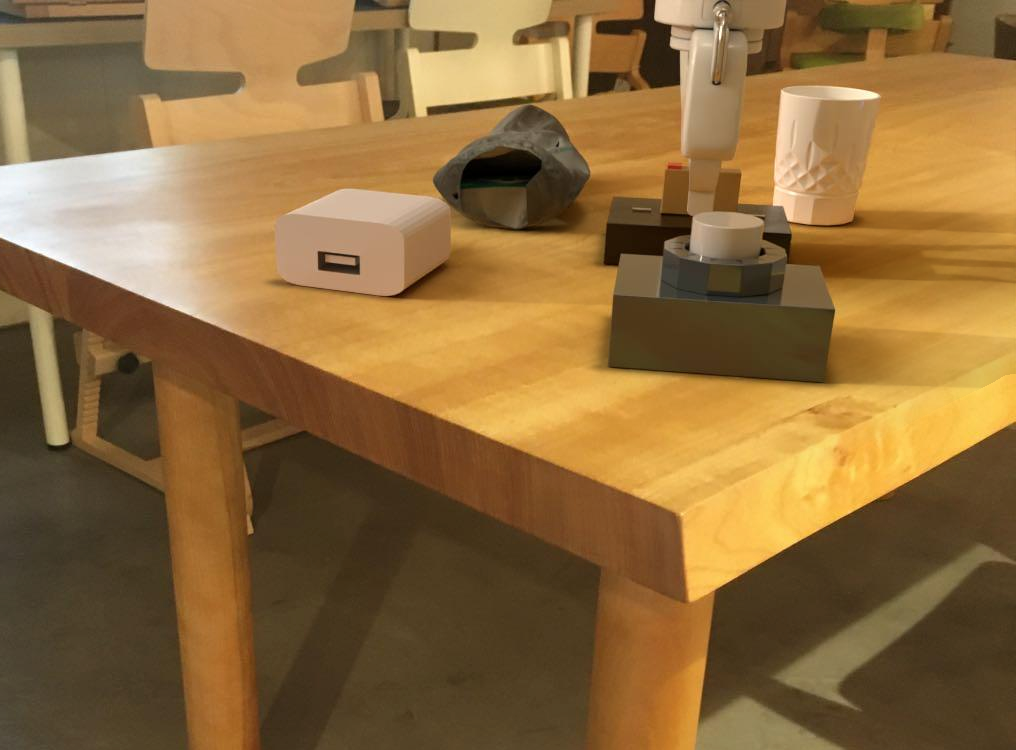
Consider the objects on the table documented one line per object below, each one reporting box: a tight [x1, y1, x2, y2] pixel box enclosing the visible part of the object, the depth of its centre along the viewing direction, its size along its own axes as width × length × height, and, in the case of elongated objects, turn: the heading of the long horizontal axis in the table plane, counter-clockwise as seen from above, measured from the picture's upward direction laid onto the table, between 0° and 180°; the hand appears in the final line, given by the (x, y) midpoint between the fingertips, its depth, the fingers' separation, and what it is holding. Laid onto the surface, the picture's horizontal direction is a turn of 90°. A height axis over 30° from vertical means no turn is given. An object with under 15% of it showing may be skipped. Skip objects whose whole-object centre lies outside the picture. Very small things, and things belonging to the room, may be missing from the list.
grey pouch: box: [432, 104, 592, 230], centre depth 107 cm, size 13×7×25 cm
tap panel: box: [603, 196, 793, 266], centre depth 93 cm, size 13×10×3 cm
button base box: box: [607, 235, 836, 383], centre depth 72 cm, size 12×9×6 cm
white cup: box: [772, 85, 882, 226], centre depth 103 cm, size 8×8×10 cm
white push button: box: [689, 212, 764, 260], centre depth 71 cm, size 4×4×2 cm
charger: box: [274, 188, 452, 297], centre depth 88 cm, size 5×9×15 cm
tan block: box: [661, 161, 742, 215], centre depth 91 cm, size 6×2×3 cm, turn 81°
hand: (698, 201), depth 92 cm, fingers open, 7 cm apart
